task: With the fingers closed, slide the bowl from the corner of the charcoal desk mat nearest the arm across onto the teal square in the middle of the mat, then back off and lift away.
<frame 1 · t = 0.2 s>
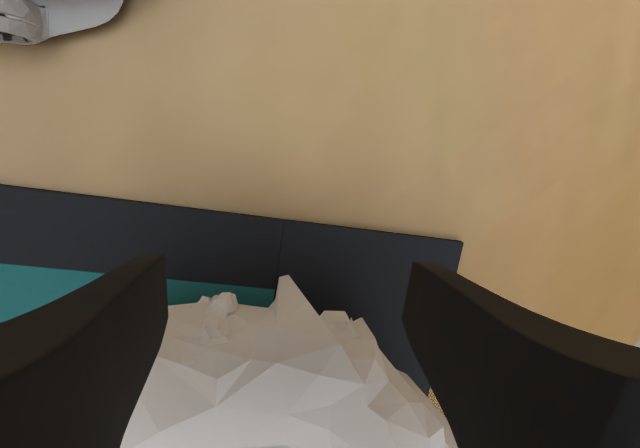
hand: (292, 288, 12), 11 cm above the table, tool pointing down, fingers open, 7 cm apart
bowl: (242, 411, 24), resting on mat
mat: (181, 405, 24), on the table
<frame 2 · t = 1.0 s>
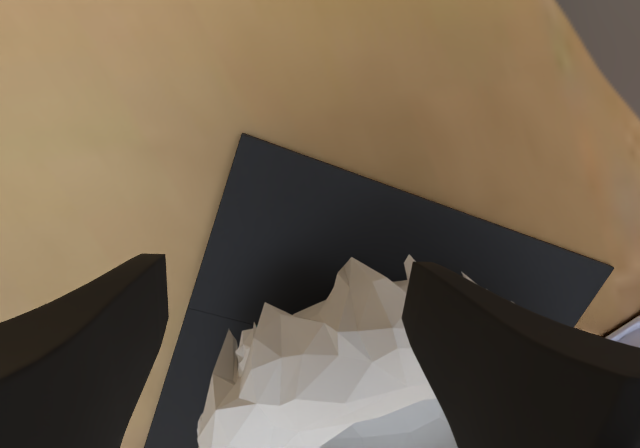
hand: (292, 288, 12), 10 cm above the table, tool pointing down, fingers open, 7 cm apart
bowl: (369, 365, 26), resting on mat
mat: (347, 403, 27), on the table
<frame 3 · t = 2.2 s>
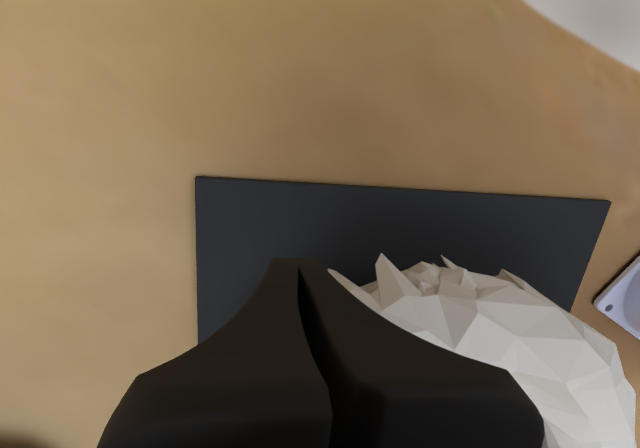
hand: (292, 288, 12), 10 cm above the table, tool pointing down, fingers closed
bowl: (387, 356, 26), resting on mat
mat: (378, 395, 28), on the table
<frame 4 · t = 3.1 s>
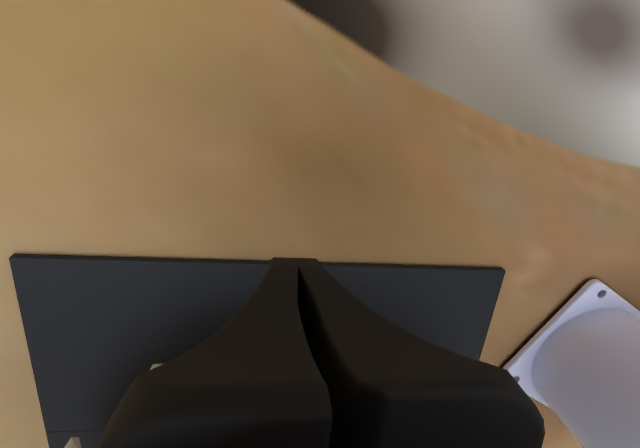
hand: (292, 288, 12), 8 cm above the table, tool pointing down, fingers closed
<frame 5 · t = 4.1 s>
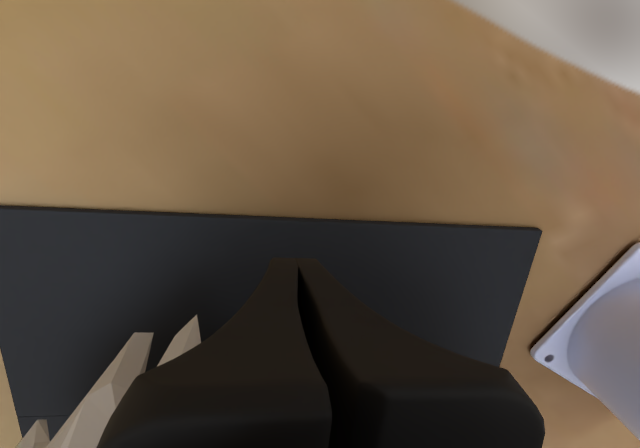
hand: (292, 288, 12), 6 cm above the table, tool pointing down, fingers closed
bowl: (272, 420, 21), resting on mat, touching gripper
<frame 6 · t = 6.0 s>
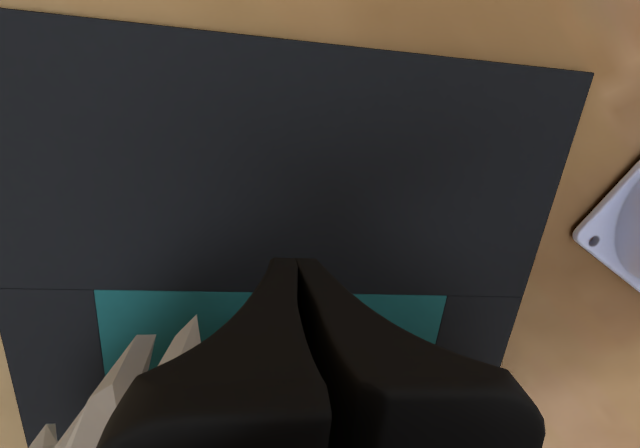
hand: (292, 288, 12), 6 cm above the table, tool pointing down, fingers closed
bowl: (280, 418, 21), resting on mat, touching gripper
mat: (276, 366, 20), on the table
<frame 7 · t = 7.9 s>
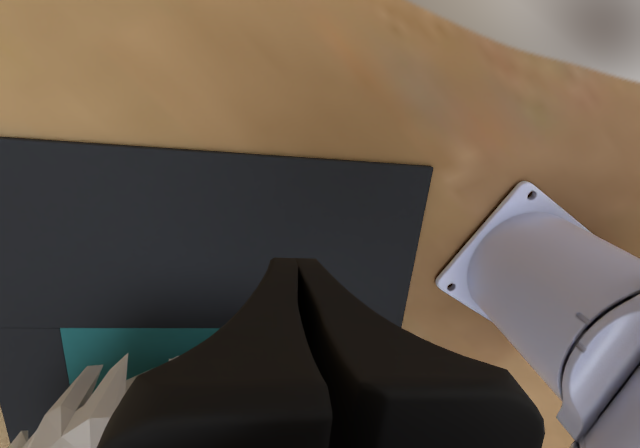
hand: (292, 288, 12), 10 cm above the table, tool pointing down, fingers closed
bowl: (214, 424, 26), resting on mat
mat: (208, 383, 25), on the table
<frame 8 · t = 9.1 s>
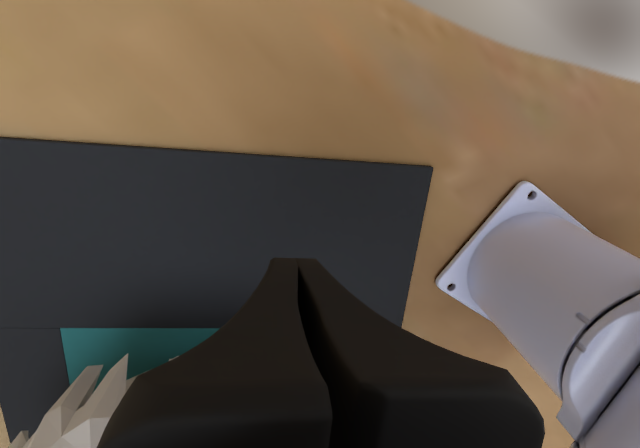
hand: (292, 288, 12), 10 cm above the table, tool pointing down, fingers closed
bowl: (214, 424, 26), resting on mat
mat: (208, 383, 25), on the table
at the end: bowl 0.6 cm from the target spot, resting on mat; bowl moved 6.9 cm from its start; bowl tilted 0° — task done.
